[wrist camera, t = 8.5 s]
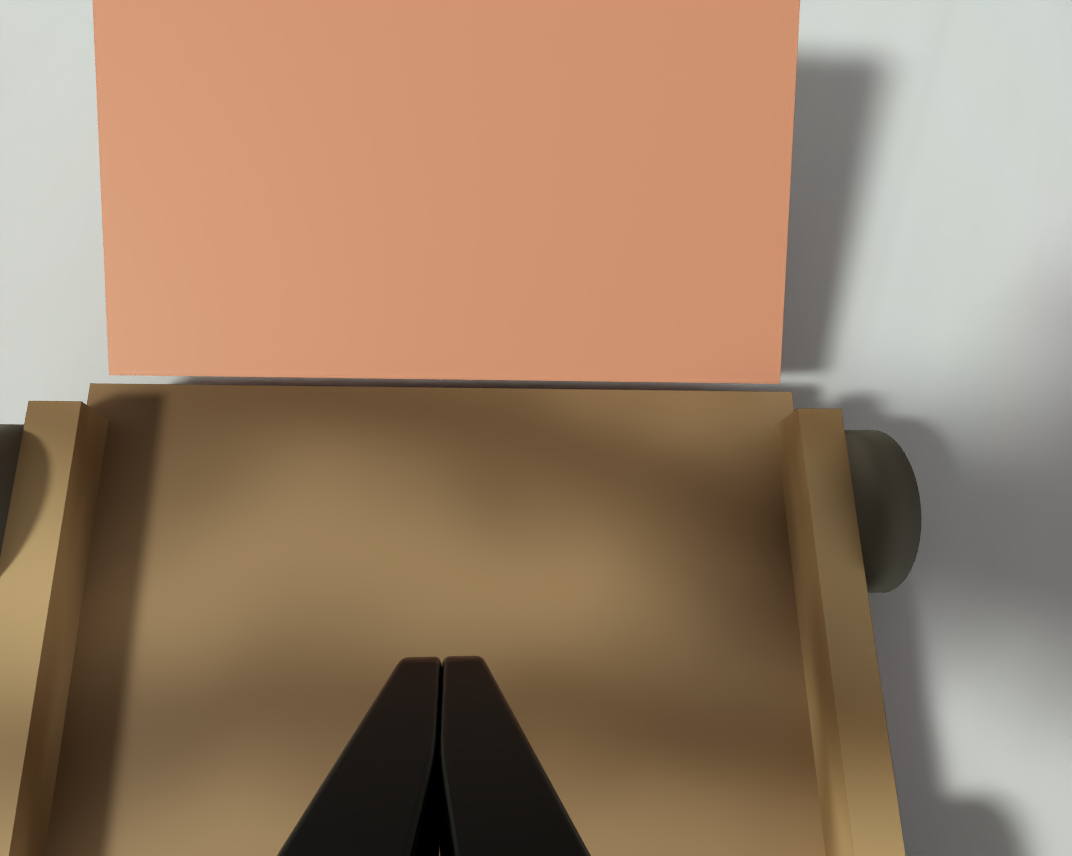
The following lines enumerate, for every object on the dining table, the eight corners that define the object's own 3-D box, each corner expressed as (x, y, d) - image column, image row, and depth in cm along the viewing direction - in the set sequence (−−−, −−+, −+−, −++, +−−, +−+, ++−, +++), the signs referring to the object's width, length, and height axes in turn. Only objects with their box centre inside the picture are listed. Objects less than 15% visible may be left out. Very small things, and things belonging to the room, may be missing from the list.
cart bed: (913, 1107, 19) (1044, 1237, 15) (-76, 1189, 17) (-259, 1371, 12) (820, 413, 24) (896, 361, 20) (56, 406, 22) (-41, 347, 17)
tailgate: (780, 383, 20) (802, -51, 19) (109, 375, 19) (88, -102, 18) (750, 379, 22) (769, -13, 21) (144, 371, 21) (127, -54, 20)
